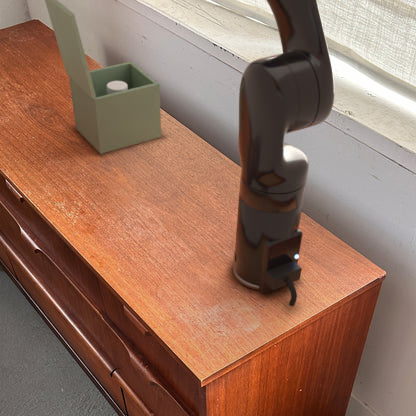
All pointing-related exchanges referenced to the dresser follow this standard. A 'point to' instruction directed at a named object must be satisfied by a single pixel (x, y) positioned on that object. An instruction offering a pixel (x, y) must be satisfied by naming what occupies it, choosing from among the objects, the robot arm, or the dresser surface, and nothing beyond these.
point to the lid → (70, 45)
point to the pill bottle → (116, 87)
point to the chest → (118, 108)
